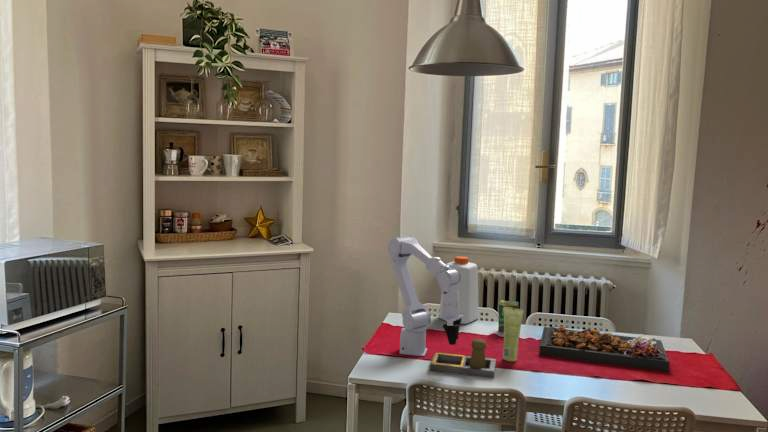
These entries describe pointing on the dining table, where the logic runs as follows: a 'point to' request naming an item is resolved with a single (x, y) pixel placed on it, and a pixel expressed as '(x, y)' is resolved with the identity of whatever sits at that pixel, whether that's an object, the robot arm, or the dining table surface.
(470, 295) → the plastic bottle
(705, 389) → the dining table surface
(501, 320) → the coffee box
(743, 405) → the dining table surface
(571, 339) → the food platter
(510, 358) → the tube
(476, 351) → the cork
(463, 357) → the rail plate
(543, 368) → the dining table surface
